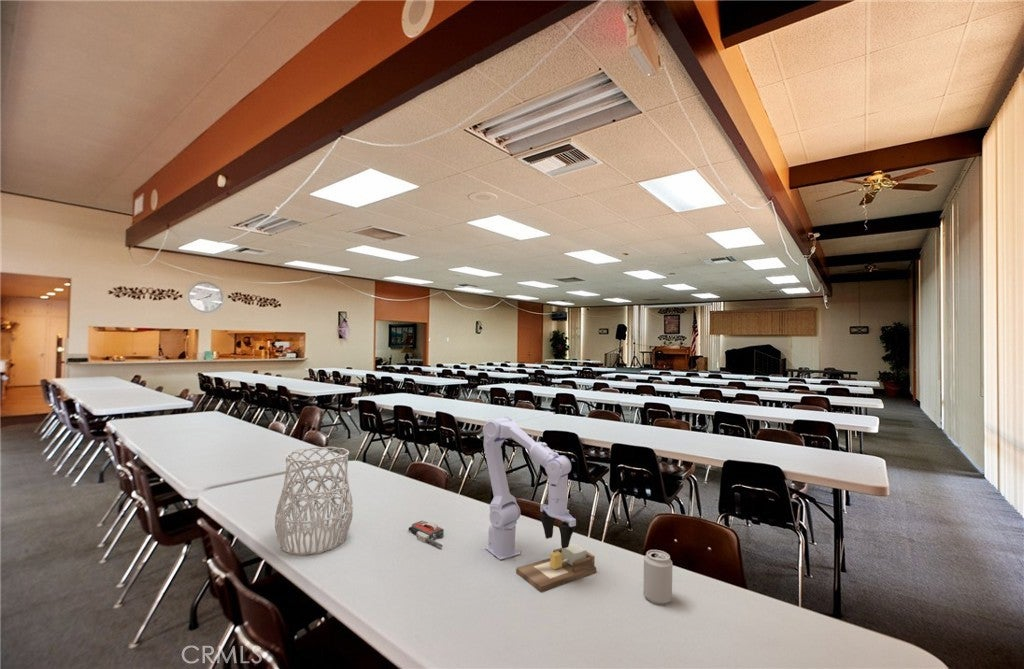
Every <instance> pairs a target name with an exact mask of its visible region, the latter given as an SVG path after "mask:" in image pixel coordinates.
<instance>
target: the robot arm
mask: <svg viewBox="0 0 1024 669" xmlns="http://www.w3.org/2000/svg"><path fill="white" fill-rule="evenodd" d="M482 433H483V450H484V454H485V459H486V464H487V469H488V474H489V479H490V480H489V481H490V485H491V489H492V495H493V498H492V500H491V502H490V503H489V510H490V511H489V521H490V525H489V527H488V537H487V538H488V542H487V546H485V550H487V551H488V552H489V553H491V555H493V556H494V557H496V558H498V560H501V561H502V560H505V559H509V558H512V557H516V556H519V555H521V552H520V551H519V550H517V549H516V529H517V527H516V526H517V521H518V520H519V519H520V518H521V508H520V506H519V505H518V503H517V500H516V499H517V498H516V497H515V496H514V495H512V494H511V492H510V487H509V484H508V478H507V473H506V469H505V464H504V460H503V454H502V449H501V447H502V445H503V443H504V442H505V440H506V439H511V440H513V441H515V442H516V443H518V445H520V446H522V447H523V448H525V449H526V450H527V451H529V456H530V458H531V459H533V460H534V461H535V462H537V463H538V464H539V465H540V466H541V467H543V468H544V470H545V473H546V475H547V478H548V479H547V481H548V498H547V500H548V504H546V503H544V504H540V507H539V508H540V512H541V513H540V514H539V515H538V518H539V519H540V522H541V525H542V528H543V531H544V535H545V536H544V537H545V539H546V540H547V539H552V538H553V535H554V526H555V520H556V519H557V520H559V521H561V522H563V523H560V524H557V527H558V530H559V533H560V534H559V535H560V545H561V548H567V547H568V546H569V544H570V541H571V538H572V536H573V533H574V531H575V530H576V529H577V519H576V518H574V517H573V516H572V514H570V510H569V509H568V482H569V481H568V479H569V478H568V477H569V475H568V474H569V473H570V472H571V471H572V463H571V461H570V459H569V458H568V457H567V456H566V455H559V453H558V452H557V451H556V452H555V451H553V449H551V448H550V447H549V446H548V444H547V443H546V442H542V441H537V442H536V441H535V440H534V439H533V438H532V437H531V436H530V435H529V434H527V432H525V431H524V430H523V429H522V428H521V427H519V425H518V424H517V422H516V421H515V420H514V419H512V418H511V417H510V416H509V417H508V416H506V417H505V416H504V417H502V418H500V417H499V418H497V419H488V420H487V421H486V422H485V424H484V426H483V427H482Z"/></svg>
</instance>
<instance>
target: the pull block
mask: <svg viewBox="0 0 1024 669" xmlns="http://www.w3.org/2000/svg"><path fill="white" fill-rule="evenodd" d="M561 548H562V547H561ZM587 552H588V550H587V549H586V548H583V547H582V546H580V545H578V544H577V543H575V542H571V543H569V546H568V547H567V548H562V553H560V552H559V551H557V552H553V551H552V552H550V555H549V558H550V567H551V568H553V569H554V570H555V569H558V568H561V567H562V563H564V562H567V563H568V564H570V565H572V563H573V562H576V561H579V560H582V559H585V558H586V557H587Z"/></svg>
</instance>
